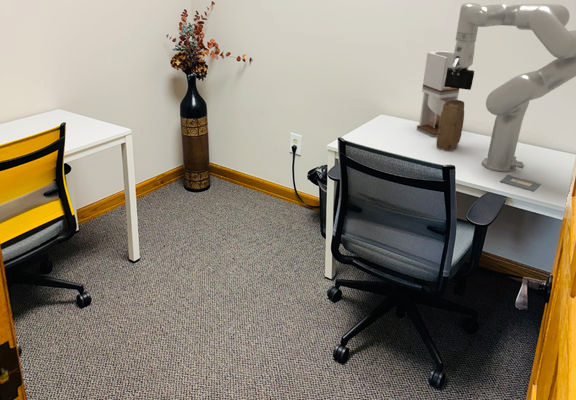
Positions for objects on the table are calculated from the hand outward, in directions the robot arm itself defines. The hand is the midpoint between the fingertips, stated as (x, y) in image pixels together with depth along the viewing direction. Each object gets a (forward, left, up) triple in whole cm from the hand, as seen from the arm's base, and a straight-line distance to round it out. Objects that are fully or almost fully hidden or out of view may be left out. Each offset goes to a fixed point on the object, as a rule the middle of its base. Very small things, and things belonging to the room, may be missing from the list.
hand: (458, 82), depth 219 cm
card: (-36, +17, -27) cm, 48 cm away
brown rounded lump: (0, 0, -28) cm, 28 cm away
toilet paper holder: (+13, -14, -28) cm, 34 cm away
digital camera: (0, 0, -2) cm, 2 cm away
